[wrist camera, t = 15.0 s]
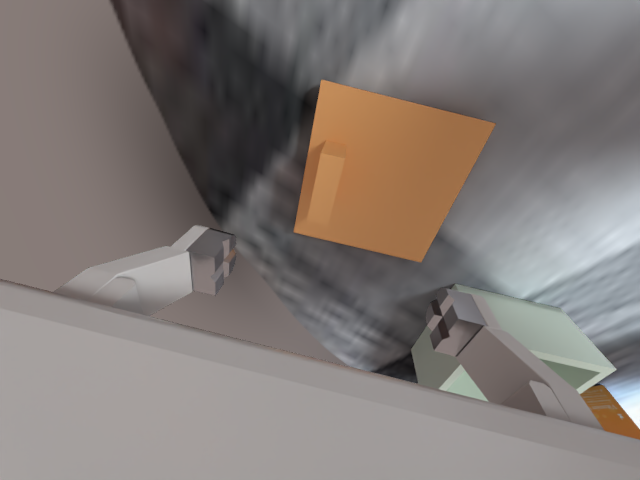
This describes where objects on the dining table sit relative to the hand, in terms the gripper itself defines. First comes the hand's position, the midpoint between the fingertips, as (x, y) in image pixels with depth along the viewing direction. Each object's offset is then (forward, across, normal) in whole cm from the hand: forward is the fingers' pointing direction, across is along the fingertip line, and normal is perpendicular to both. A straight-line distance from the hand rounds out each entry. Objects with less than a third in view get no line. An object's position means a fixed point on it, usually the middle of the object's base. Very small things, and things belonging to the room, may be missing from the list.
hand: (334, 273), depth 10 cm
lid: (+15, -3, 0) cm, 15 cm away
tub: (+15, -20, +16) cm, 30 cm away
